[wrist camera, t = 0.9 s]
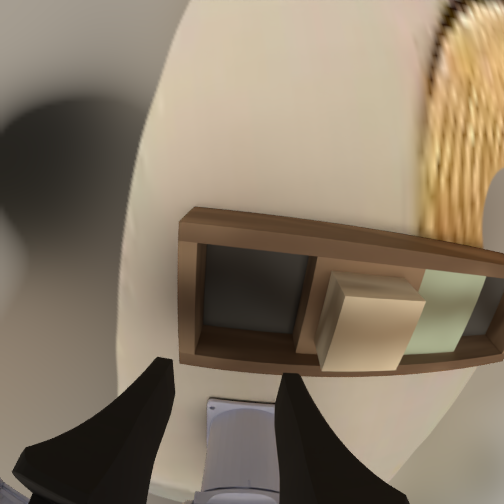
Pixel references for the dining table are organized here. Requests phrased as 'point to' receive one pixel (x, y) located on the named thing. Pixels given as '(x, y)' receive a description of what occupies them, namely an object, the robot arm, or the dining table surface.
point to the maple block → (366, 322)
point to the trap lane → (324, 293)
